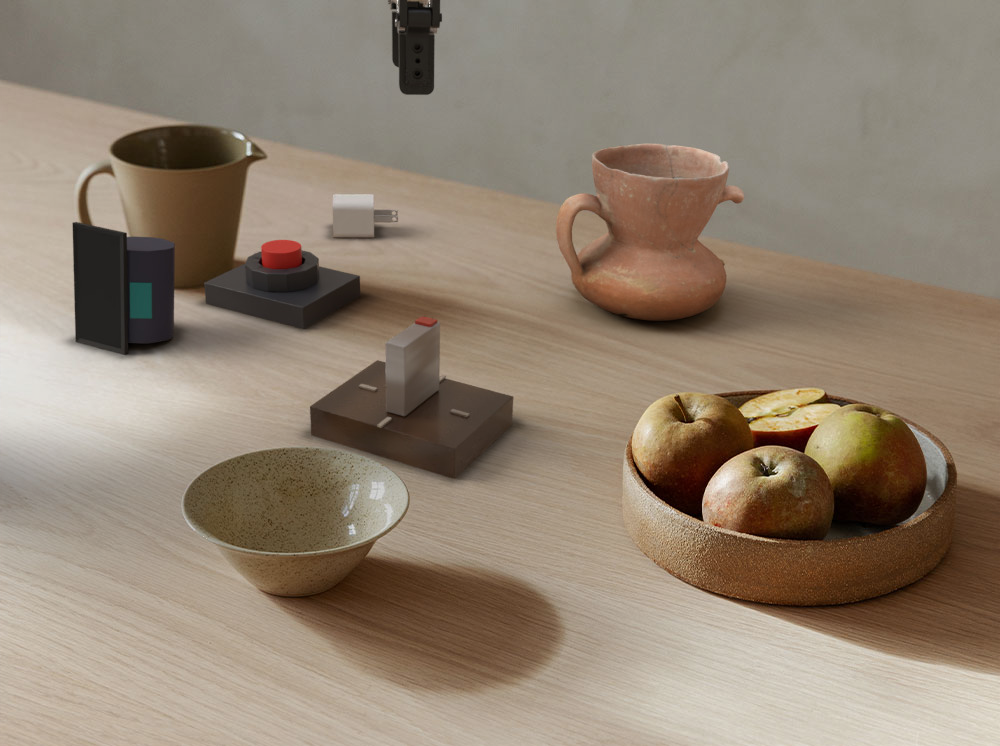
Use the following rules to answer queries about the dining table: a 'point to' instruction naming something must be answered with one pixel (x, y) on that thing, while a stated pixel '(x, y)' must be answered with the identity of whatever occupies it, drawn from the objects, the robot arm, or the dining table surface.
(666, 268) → the ceramic jug
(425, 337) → the block
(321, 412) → the brown base plate
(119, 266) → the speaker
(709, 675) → the dining table surface
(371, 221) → the usb wall charger
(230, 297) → the switch block
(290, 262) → the power button
